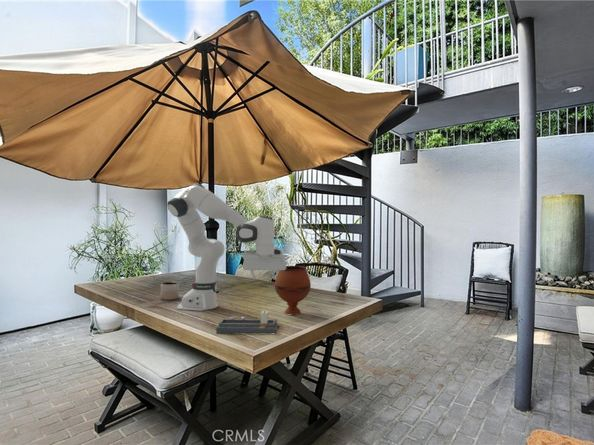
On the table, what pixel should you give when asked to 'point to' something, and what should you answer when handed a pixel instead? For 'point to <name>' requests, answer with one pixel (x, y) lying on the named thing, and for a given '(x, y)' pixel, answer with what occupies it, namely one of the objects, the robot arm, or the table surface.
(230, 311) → the table surface
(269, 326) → the console
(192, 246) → the robot arm
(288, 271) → the terracotta clay pot
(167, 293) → the planter
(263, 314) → the fader cap
